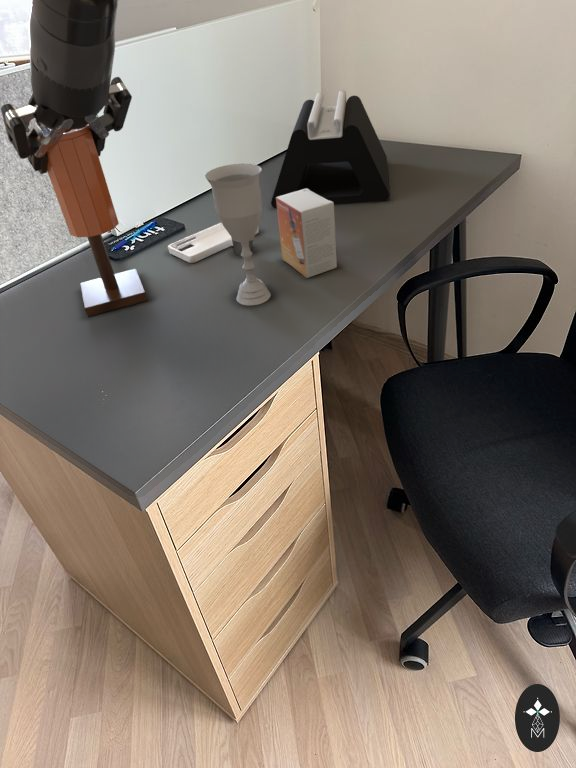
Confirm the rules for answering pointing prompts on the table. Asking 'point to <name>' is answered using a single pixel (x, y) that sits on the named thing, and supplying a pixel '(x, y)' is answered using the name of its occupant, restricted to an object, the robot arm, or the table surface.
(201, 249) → the phone case
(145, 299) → the stand
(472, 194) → the table surface
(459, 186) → the table surface
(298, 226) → the small box
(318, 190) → the device stand
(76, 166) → the cup
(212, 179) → the chalice
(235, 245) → the milkshake
